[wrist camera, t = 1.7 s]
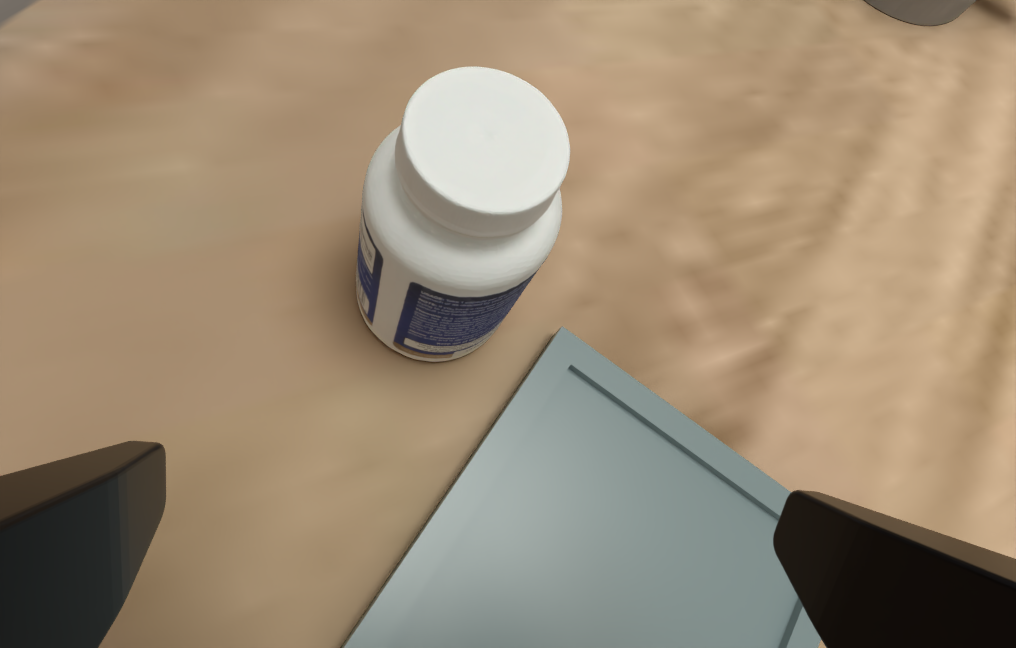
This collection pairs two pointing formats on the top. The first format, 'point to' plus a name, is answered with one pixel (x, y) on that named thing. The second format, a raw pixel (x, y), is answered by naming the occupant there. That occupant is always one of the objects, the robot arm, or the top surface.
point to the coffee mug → (922, 10)
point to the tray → (594, 531)
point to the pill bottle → (459, 211)
